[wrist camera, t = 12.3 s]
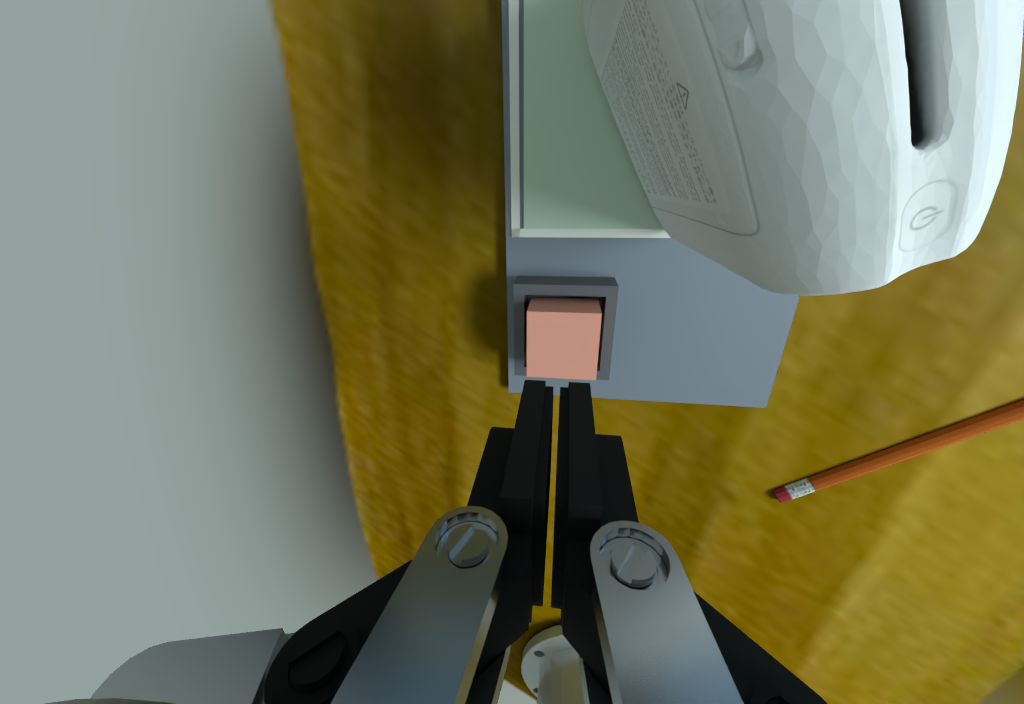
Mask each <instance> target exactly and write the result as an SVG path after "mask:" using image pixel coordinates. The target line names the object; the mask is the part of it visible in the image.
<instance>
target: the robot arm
mask: <svg viewBox="0 0 1024 704" xmlns="http://www.w3.org/2000/svg"><path fill="white" fill-rule="evenodd" d="M553 389H554V387H551V386H546V381H541V380H525V381H524V386H523V391H522V395H521V400H520V405H519V410H518V414H517V419H516V424H515V429H514V428H500V427H492V428H491V430H490V432H489V435H488V439H487V442H486V445H485V449H484V452H483V455H482V458H481V462H480V465H479V468H478V472H477V475H476V478H475V482H474V485H473V488H472V491H471V495H470V498H469V501H468V505H467V506H465V507H459V508H456V509H454V510H451V511H449V512H447V513H445V514H444V515H443V516H441V517H440V518H439V519H437V521H436V522H435V523H434V524H433V526H432V527H431V528H430V530H429V531H428V533H427V535H426V537H425V539H424V540H423V542H422V544H421V546H420V547H419V549H418V551H417V553H416V554H415V556H414V558H413V559H412V560H410V561H409V562H407V563H406V564H404V565H402V566H401V567H399V568H397V569H396V570H394V571H392V572H391V573H389V574H387V575H386V576H384V577H382V578H381V579H379V580H377V581H376V582H374V583H373V584H371V585H369V586H368V587H366V588H364V589H363V590H361V591H360V592H358V593H356V594H354V595H353V596H351V597H349V598H348V599H346V600H345V601H343V602H341V603H340V604H338V605H336V606H335V607H333V608H331V609H330V610H328V611H326V612H325V613H323V614H321V615H320V616H318V617H317V618H315V619H313V620H312V621H310V622H309V623H307V624H306V625H305V626H303V627H302V628H301V629H299V630H298V631H297V632H295V633H291V634H285V633H284V631H283V629H282V628H280V629H272V630H263V631H256V632H247V633H240V634H231V635H222V636H214V637H206V638H198V639H190V640H181V641H173V642H167V643H163V644H160V645H156V646H153V647H150V648H148V649H146V650H144V651H143V652H141V653H139V654H137V655H136V656H134V657H132V658H130V659H129V660H128V661H126V662H125V663H124V664H123V665H122V666H120V667H119V668H118V669H117V670H115V671H114V672H113V673H112V674H110V676H109V677H108V678H107V679H106V680H105V681H104V683H103V684H102V685H101V686H100V687H99V688H98V689H97V690H96V692H95V693H94V694H93V695H92V697H91V698H90V699H75V700H68V701H60V702H53V703H46V704H497V703H498V699H499V695H500V691H501V687H502V683H503V679H504V675H505V671H506V668H507V664H508V660H509V656H510V649H511V644H512V643H513V642H514V641H516V640H517V639H518V638H519V637H520V636H521V635H523V634H524V633H525V632H526V631H527V630H528V628H529V623H531V618H532V606H533V605H536V606H542V605H543V590H544V573H545V557H546V540H547V523H548V507H549V490H550V472H551V445H552V417H553ZM551 608H559V609H561V625H556V626H553V627H550V628H548V629H545V630H543V631H541V632H540V633H538V634H537V635H535V636H534V637H533V638H532V639H531V640H530V641H529V642H528V643H527V644H526V646H525V648H524V650H523V655H522V663H521V673H522V677H523V680H524V682H525V683H526V685H527V687H528V688H529V690H530V691H531V692H532V693H533V694H534V695H535V696H536V697H537V704H827V703H826V702H825V701H824V700H823V699H822V698H821V697H820V696H819V695H818V694H817V693H815V692H814V691H813V690H812V689H811V688H809V687H808V686H807V685H806V684H805V683H803V682H802V681H801V680H800V679H799V678H797V677H796V676H795V675H794V674H793V673H791V672H790V671H789V670H788V669H787V668H785V667H784V666H783V665H782V664H781V663H779V662H778V661H777V660H776V659H775V658H773V657H772V656H771V655H770V654H768V653H767V652H766V651H765V650H764V649H762V648H761V647H760V646H759V645H758V644H756V643H755V642H754V641H753V640H752V639H750V638H749V637H748V636H747V635H746V634H744V633H743V632H742V631H741V630H740V629H738V628H737V627H736V626H735V625H734V624H732V623H731V622H730V621H729V620H728V619H726V618H725V617H724V616H723V615H721V614H720V613H719V612H718V611H717V610H715V609H714V608H713V607H712V606H711V605H709V604H708V603H707V602H706V601H705V600H703V599H702V598H701V597H700V596H699V595H697V594H696V593H695V592H694V591H693V589H692V587H691V585H690V583H689V580H688V578H687V576H686V574H685V571H684V569H683V567H682V565H681V562H680V560H679V558H678V556H677V554H676V553H675V551H674V549H673V548H672V546H671V544H670V543H669V542H668V541H667V540H666V539H665V538H664V537H663V536H662V535H661V534H659V533H658V532H656V531H655V530H653V529H651V528H650V527H648V526H645V525H643V524H640V523H639V522H638V517H637V512H636V507H635V502H634V497H633V492H632V487H631V482H630V477H629V472H628V467H627V462H626V457H625V452H624V447H623V442H622V438H621V436H615V435H601V434H595V427H594V417H593V407H592V397H591V387H590V383H579V382H569V384H568V387H560V404H559V426H558V449H557V471H556V496H555V520H554V545H553V570H552V594H551Z"/></svg>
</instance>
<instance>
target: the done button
mask: <svg viewBox="0 0 1024 704" xmlns="http://www.w3.org/2000/svg"><path fill="white" fill-rule="evenodd" d="M601 318H602V312H601V308H600V304H599V300H598V299H565V298H531V301H530V303H529V306H528V309H527V377H543V378H561V379H580V380H596V376H597V364H598V353H599V341H600V330H601Z"/></svg>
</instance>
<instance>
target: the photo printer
mask: <svg viewBox="0 0 1024 704" xmlns="http://www.w3.org/2000/svg"><path fill="white" fill-rule="evenodd" d="M582 16H583V23H584V29H585V33H586V38H587V42H588V46H589V50H590V54H591V57H592V59H593V62H594V65H595V68H596V71H597V74H598V76H599V79H600V82H601V84H602V88H603V91H604V93H605V95H606V98H607V100H608V103H609V106H610V108H611V111H612V113H613V116H614V119H615V121H616V124H617V126H618V129H619V131H620V134H621V136H622V139H623V141H624V143H625V146H626V148H627V151H628V153H629V156H630V158H631V160H632V163H633V166H634V168H635V171H636V173H637V175H638V177H639V180H640V182H641V184H642V187H643V189H644V191H645V193H646V196H647V198H648V200H649V202H650V204H651V207H652V209H653V211H654V213H655V215H656V217H657V219H658V220H659V222H660V224H661V225H662V227H663V228H664V230H665V231H666V232H667V234H668V235H669V236H670V237H671V238H672V239H674V240H676V241H678V242H679V243H681V244H683V245H685V246H687V247H689V248H691V249H693V250H694V251H696V252H698V253H700V254H701V255H703V256H705V257H707V258H709V259H711V260H713V261H714V262H716V263H718V264H720V265H721V266H723V267H725V268H727V269H728V270H730V271H732V272H734V273H736V274H738V275H739V276H741V277H743V278H745V279H747V280H749V281H750V282H752V283H753V284H755V285H757V286H759V287H760V288H762V289H765V290H768V291H770V292H773V293H780V294H788V295H803V296H816V295H831V294H842V293H848V292H856V291H864V290H869V289H874V288H877V287H880V286H883V285H885V284H887V283H889V282H890V281H892V280H893V279H895V278H897V277H898V276H900V275H902V274H904V273H906V272H908V271H910V270H912V269H915V268H917V267H919V266H923V265H926V264H930V263H933V262H937V261H941V260H945V259H949V258H952V257H955V256H956V255H958V254H959V253H961V252H962V251H964V250H965V249H967V247H968V246H969V245H970V244H971V243H972V242H973V241H974V240H975V238H976V236H977V235H978V233H979V231H980V228H981V226H982V224H983V222H984V219H985V217H986V215H987V212H988V210H989V207H990V205H991V202H992V200H993V197H994V194H995V191H996V189H997V186H998V183H999V180H1000V178H1001V175H1002V171H1003V166H1004V162H1005V158H1006V154H1007V150H1008V145H1009V141H1010V137H1011V132H1012V125H1013V117H1014V112H1015V107H1016V98H1017V91H1018V84H1019V75H1020V66H1021V53H1022V39H1023V19H1024V0H583V7H582Z"/></svg>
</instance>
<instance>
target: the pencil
mask: <svg viewBox="0 0 1024 704" xmlns="http://www.w3.org/2000/svg"><path fill="white" fill-rule="evenodd" d="M1022 419H1024V399H1023V400H1020V401H1018V402H1015V403H1012V404H1009V405H1007V406H1004V407H1001V408H998V409H996V410H993V411H990V412H987V413H984V414H982V415H979V416H976V417H973V418H971V419H968V420H965V421H962V422H960V423H957V424H954V425H951V426H949V427H946V428H943V429H940V430H937V431H935V432H932V433H929V434H926V435H924V436H921V437H918V438H915V439H913V440H910V441H907V442H904V443H902V444H899V445H896V446H893V447H891V448H888V449H885V450H882V451H879V452H877V453H874V454H871V455H868V456H866V457H863V458H860V459H857V460H855V461H852V462H849V463H846V464H844V465H841V466H838V467H835V468H832V469H830V470H827V471H824V472H821V473H819V474H816V475H813V476H810V477H808V478H805V479H802V480H799V481H797V482H794V483H791V484H788V485H786V486H783V487H780V488H777V489H774V490H773V493H774V494H775V496H776V497H777V499H778V501H779V502H780V503H783V502H786V501H789V500H792V499H795V498H798V497H800V496H803V495H806V494H809V493H812V492H815V491H818V490H821V489H823V488H826V487H829V486H832V485H835V484H838V483H841V482H844V481H846V480H849V479H852V478H855V477H858V476H861V475H864V474H867V473H869V472H872V471H875V470H878V469H881V468H884V467H887V466H890V465H892V464H895V463H898V462H901V461H904V460H907V459H910V458H913V457H915V456H918V455H921V454H924V453H927V452H930V451H933V450H936V449H938V448H941V447H944V446H947V445H950V444H953V443H956V442H959V441H962V440H964V439H967V438H970V437H973V436H976V435H979V434H982V433H985V432H987V431H990V430H993V429H996V428H999V427H1002V426H1005V425H1008V424H1010V423H1013V422H1016V421H1019V420H1022Z"/></svg>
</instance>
